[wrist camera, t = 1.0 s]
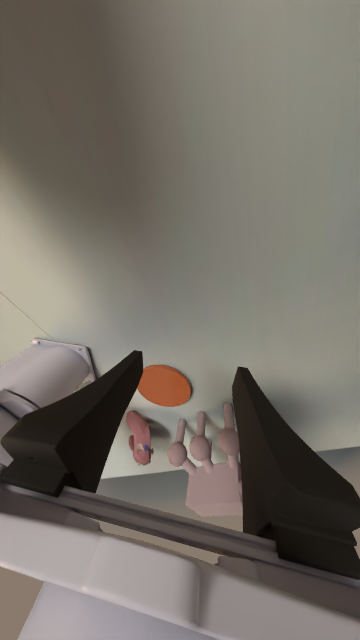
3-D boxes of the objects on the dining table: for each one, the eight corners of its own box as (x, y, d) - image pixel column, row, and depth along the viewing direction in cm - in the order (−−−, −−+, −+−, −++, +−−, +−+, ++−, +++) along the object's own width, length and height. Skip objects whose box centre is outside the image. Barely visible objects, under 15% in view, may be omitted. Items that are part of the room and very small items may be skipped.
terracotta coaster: (138, 398, 31) (137, 401, 30) (135, 360, 26) (133, 363, 26) (188, 407, 30) (188, 411, 29) (193, 370, 25) (193, 373, 25)
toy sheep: (278, 375, 23) (344, 529, 12) (312, 419, 26) (392, 577, 14) (171, 416, 32) (146, 528, 20) (205, 445, 35) (202, 558, 23)
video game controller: (149, 432, 39) (155, 469, 33) (128, 437, 37) (130, 478, 32) (149, 404, 34) (156, 443, 28) (125, 410, 32) (126, 451, 27)
